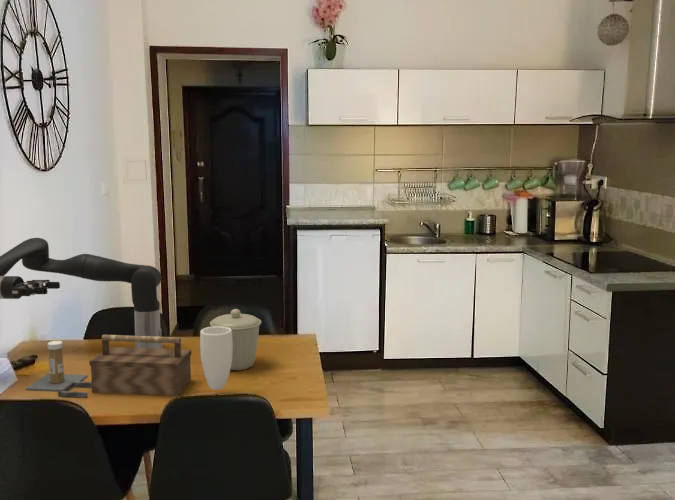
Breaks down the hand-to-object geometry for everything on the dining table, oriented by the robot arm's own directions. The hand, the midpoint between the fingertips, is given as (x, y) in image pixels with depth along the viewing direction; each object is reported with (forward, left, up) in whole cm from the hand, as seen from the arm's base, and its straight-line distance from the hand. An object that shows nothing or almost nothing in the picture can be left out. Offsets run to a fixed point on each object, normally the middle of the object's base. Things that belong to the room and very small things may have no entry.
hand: (53, 287), depth 219 cm
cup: (-45, +36, -32) cm, 66 cm away
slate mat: (0, +4, -31) cm, 32 cm away
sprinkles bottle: (+1, +4, -31) cm, 31 cm away
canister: (-59, +11, -32) cm, 67 cm away
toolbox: (-20, +18, -31) cm, 41 cm away
